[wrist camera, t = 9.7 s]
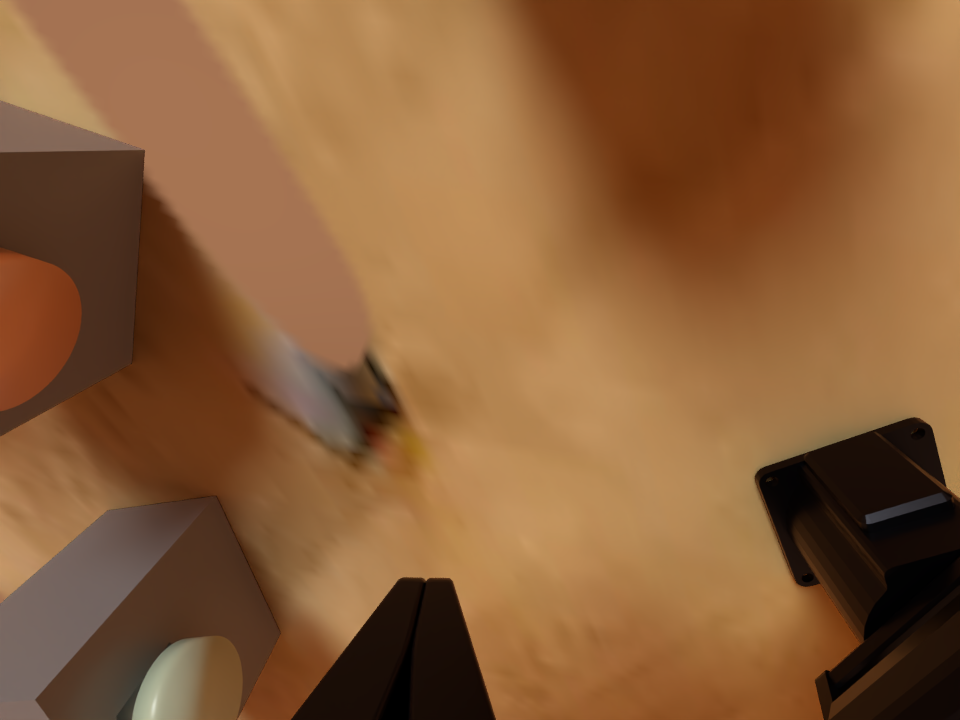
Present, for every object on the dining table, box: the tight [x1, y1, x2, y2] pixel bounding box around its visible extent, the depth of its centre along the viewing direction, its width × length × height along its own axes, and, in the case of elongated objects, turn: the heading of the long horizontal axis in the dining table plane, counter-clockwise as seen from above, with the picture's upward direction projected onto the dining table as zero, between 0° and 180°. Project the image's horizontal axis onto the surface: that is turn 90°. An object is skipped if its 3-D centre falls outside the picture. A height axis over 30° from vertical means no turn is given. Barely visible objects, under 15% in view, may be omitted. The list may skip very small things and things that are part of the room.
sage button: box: [116, 636, 243, 720], centre depth 20 cm, size 6×4×4 cm
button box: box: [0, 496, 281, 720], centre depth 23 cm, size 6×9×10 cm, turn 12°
